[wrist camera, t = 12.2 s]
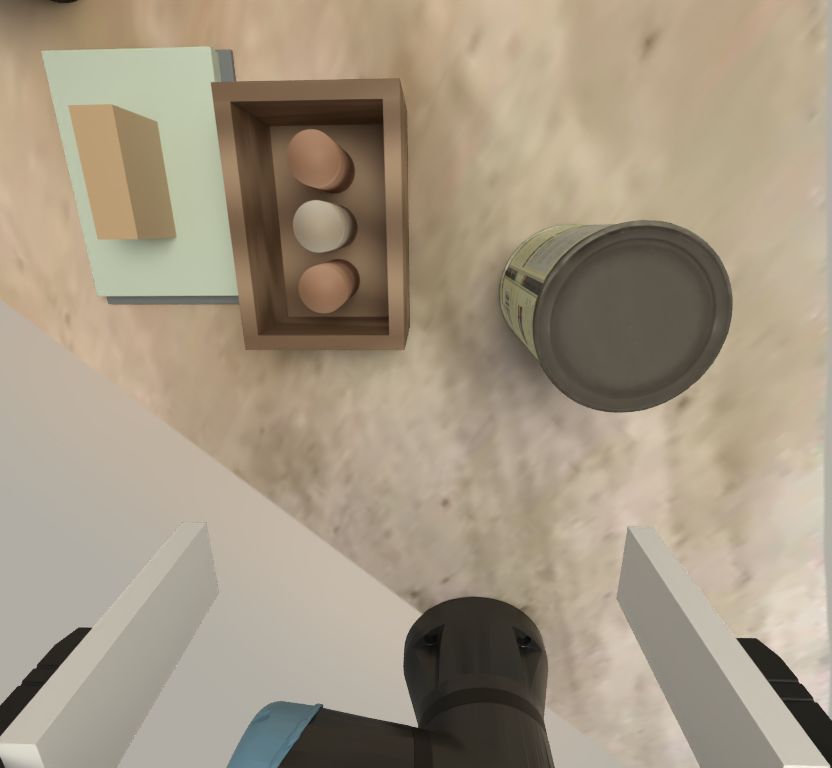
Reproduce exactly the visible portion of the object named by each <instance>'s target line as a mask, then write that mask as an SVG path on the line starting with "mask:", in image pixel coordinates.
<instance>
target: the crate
mask: <svg viewBox="0 0 832 768" xmlns="http://www.w3.org/2000/svg"><path fill="white" fill-rule="evenodd" d="M211 89H212V97H213V104H214V112H215V120H216V127H217V135H218V143H219V150H220V158H221V166H222V173H223V181H224V189H225V196H226V204H227V211H228V219H229V227H230V234H231V242H232V250H233V257H234V265H235V273H236V280H237V288H238V296H239V303H240V311H241V319H242V326H243V334H244V341H245V349H246V350H404V349H405V345H406V341H407V336H408V332H409V328H410V299H409V222H408V145H407V109H406V104H405V100H404V95H403V91H402V86H401V82H400V78H393V79H344V80H295V81H246V82H211Z"/></svg>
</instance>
